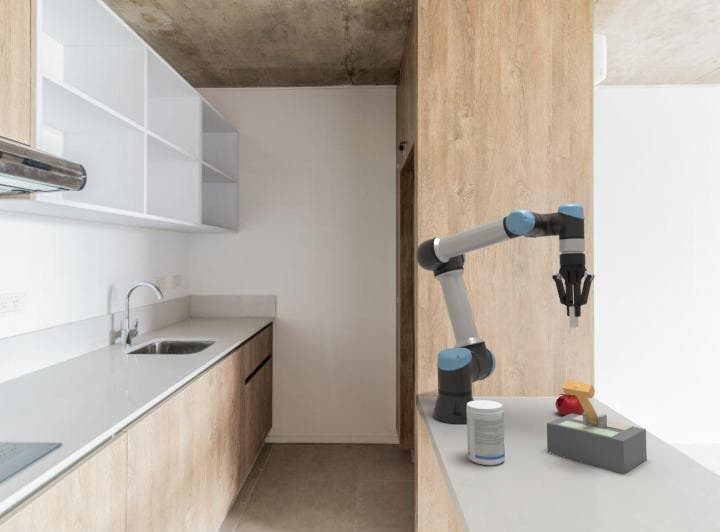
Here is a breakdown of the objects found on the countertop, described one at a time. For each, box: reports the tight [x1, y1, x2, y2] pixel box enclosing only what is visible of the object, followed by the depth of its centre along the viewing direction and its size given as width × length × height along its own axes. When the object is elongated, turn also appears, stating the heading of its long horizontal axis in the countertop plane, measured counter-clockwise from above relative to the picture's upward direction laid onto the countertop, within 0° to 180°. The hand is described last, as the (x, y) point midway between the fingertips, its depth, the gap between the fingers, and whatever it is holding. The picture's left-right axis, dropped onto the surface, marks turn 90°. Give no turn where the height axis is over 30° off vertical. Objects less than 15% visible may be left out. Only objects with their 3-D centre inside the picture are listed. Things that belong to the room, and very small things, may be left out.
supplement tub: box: [466, 399, 506, 466], centre depth 127 cm, size 10×10×15 cm
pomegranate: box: [555, 393, 585, 417], centre depth 167 cm, size 10×10×9 cm
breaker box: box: [546, 413, 648, 475], centre depth 129 cm, size 20×14×11 cm
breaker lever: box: [561, 380, 599, 425], centre depth 126 cm, size 7×2×16 cm
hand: (574, 327), depth 152 cm, fingers closed
